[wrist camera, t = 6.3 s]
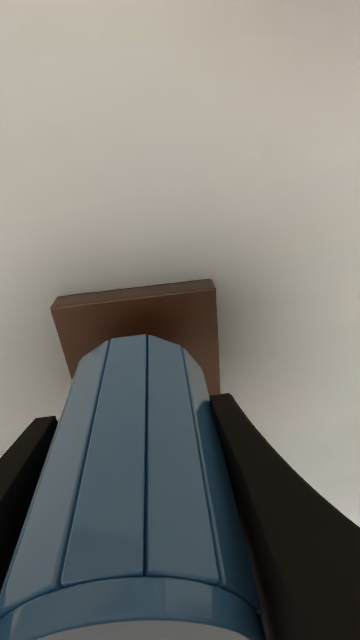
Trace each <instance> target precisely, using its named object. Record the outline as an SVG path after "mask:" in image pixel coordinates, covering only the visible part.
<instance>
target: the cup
mask: <svg viewBox="0 0 360 640" xmlns="http://www.w3.org/2000/svg"><path fill="white" fill-rule="evenodd" d="M0 640H267V639H266V635H265V630H264V626H263V623H262V606H261V602H260V598H259V594H258V590H257V586H256V582H255V578H254V574H253V570H252V566H251V562H250V558H249V554H248V550H247V546H246V542H245V538H244V534H243V530H242V526H241V522H240V518H239V514H238V510H237V506H236V502H235V498H234V494H233V490H232V486H231V482H230V477H229V473H228V469H227V465H226V461H225V457H224V453H223V449H222V445H221V442H220V439H219V436H218V433H217V429H216V425H215V421H214V417H213V413H212V409H211V404H210V397H209V393H208V389H207V385H206V381H205V377H204V373H203V371H202V368H201V367H200V366H199V365H198V364H197V363H196V361H195V360H194V359H193V358H192V357H191V355H190V354H189V353H188V352H187V351H186V350H185V348H181V346H180V345H178V344H175V343H172V342H169V341H166V340H164V339H161V338H158V337H155V336H152V335H149V336H148V338H147V335H146V334H143V335H135V336H127V337H119V338H112V339H111V341H109V340H107V341H105V342H104V343H102V344H101V345H100V346H98V347H97V348H95V349H94V350H92V351H91V352H89V353H88V354H87V355H85V356H84V357H82V359H81V360H80V361H79V363H78V366H77V368H76V371H75V374H74V376H73V379H72V381H71V384H70V387H69V390H68V393H67V395H66V398H65V401H64V404H63V407H62V410H61V413H60V416H59V419H58V421H57V424H56V427H55V430H54V433H53V436H52V439H51V442H50V445H49V447H48V450H47V453H46V456H45V459H44V462H43V465H42V468H41V471H40V474H39V476H38V479H37V482H36V485H35V488H34V491H33V494H32V497H31V500H30V502H29V505H28V508H27V511H26V514H25V517H24V520H23V523H22V526H21V529H20V531H19V534H18V537H17V540H16V543H15V546H14V549H13V552H12V555H11V557H10V560H9V563H8V566H7V569H6V572H5V575H4V578H3V581H2V583H1V586H0Z"/></svg>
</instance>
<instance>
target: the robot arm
mask: <svg viewBox="0 0 360 640" xmlns="http://www.w3.org/2000/svg"><path fill="white" fill-rule="evenodd" d="M210 404H211V409H212V413H213V417H214V421H215V425H216V429H217V433H218V436H219V439H220V442H221V445H222V449H223V453H224V457H225V461H226V465H227V469H228V473H229V477H230V482H231V486H232V490H233V494H234V498H235V502H236V506H237V510H238V514H239V518H240V522H241V526H242V530H243V534H244V538H245V542H246V546H247V550H248V554H249V558H250V562H251V566H252V570H253V574H254V578H255V582H256V586H257V590H258V594H259V598H260V602H261V606H262V623H263V626H264V630H265V635H266V639H267V640H360V527H359V526H357V525H356V524H355V523H353V522H352V521H351V520H350V519H348V518H347V517H346V516H344V515H343V514H342V513H341V512H340V511H338V510H337V509H336V508H335V507H334V506H333V505H331V504H330V503H329V502H328V501H327V500H326V499H324V498H323V497H322V496H321V495H320V494H319V493H318V492H317V491H316V490H314V489H313V488H312V487H311V486H310V485H309V484H308V483H307V482H306V481H305V480H304V479H303V478H302V477H301V476H300V475H298V474H297V473H296V472H295V471H294V470H293V469H292V468H291V467H290V465H289V464H288V463H287V462H286V461H285V460H284V459H283V458H282V457H281V456H280V455H279V454H278V453H277V452H276V451H275V450H274V449H273V447H272V446H271V445H270V444H269V443H268V442H267V441H266V439H265V438H264V437H263V436H262V435H261V434H260V433H259V431H258V430H257V429H256V428H255V426H254V425H253V424H252V423H251V421H250V420H249V419H248V418H247V416H246V415H245V414H244V412H243V411H242V410H241V408H240V407H239V405H238V404H237V403H236V401H235V400H234V398H233V396H232V395H230V394H229V393H226V394H219V395H211V396H210ZM56 424H57V419H56V416H49V417H42V418H35V420H34V421H33V422H32V423H31V424H30V425H29V426H28V427H27V428H26V430H25V431H24V432H23V433H22V434H21V435H20V436H19V438H18V439H17V440H16V441H15V442H14V443H13V445H12V446H11V447H10V448H9V449H8V450H7V451H6V453H5V454H4V455H3V456H2V457H1V458H0V586H1V583H2V581H3V578H4V575H5V572H6V569H7V566H8V563H9V560H10V557H11V555H12V552H13V549H14V546H15V543H16V540H17V537H18V534H19V531H20V529H21V526H22V523H23V520H24V517H25V514H26V511H27V508H28V505H29V502H30V500H31V497H32V494H33V491H34V488H35V485H36V482H37V479H38V476H39V474H40V471H41V468H42V465H43V462H44V459H45V456H46V453H47V450H48V447H49V445H50V442H51V439H52V436H53V433H54V430H55V427H56Z"/></svg>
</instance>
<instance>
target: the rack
mask: <svg viewBox="0 0 360 640" xmlns="http://www.w3.org/2000/svg"><path fill="white" fill-rule="evenodd" d="M50 309H51V313H52V316H53V319H54V322H55V326H56V329H57V332H58V336H59V339H60V342H61V345H62V349H63V352H64V355H65V359H66V362H67V365H68V368H69V372H70V375H71V378H72V379H73V376H74V374H75V371H76V368H77V366H78V363H79V361H80V360H81V359H82V357H84V356H85V355H87V354H88V353H89V352H91V351H92V350H94V349H95V348H97V347H98V346H100V345H101V344H102V343H104V342H105V341H107V340H109V341H111V339H112V338H119V337H127V336H135V335H143V334H146V335H147V338H148V336H149V335H152V336H155V337H158V338H161V339H164V340H166V341H169V342H172V343H175V344H178V345H180V346H181V348H185V350H186V351H187V352H188V353H189V354H190V355H191V357H192V358H193V359H194V360H195V361H196V363H197V364H198V365H199V366H200V367H201V368H202V371H203V373H204V377H205V381H206V385H207V389H208V393H209V397H210V396H211V395H219V394H221V392H220V371H219V349H218V327H217V306H216V288H215V286H214V284H213V282H212V280H211V279H206V280H198V281H189V282H181V283H173V284H164V285H156V286H147V287H139V288H130V289H122V290H113V291H105V292H97V293H88V294H80V295H71V296H63V297H57V298H56V300H55V301H54V303H53V304H52V306H51V307H50Z"/></svg>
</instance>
